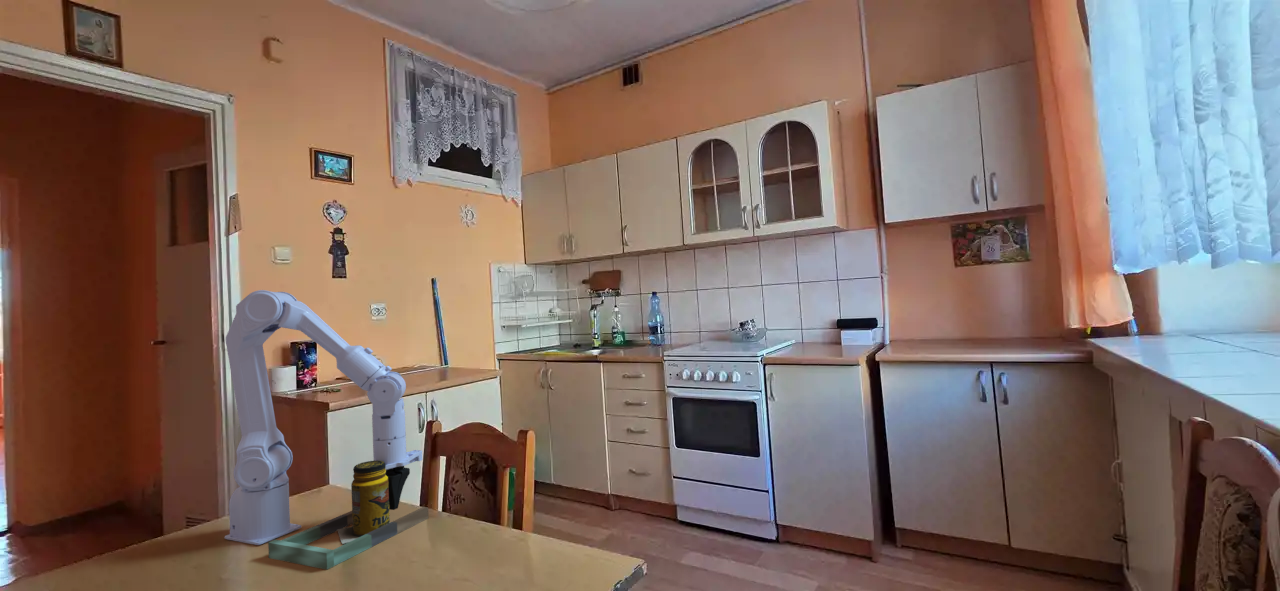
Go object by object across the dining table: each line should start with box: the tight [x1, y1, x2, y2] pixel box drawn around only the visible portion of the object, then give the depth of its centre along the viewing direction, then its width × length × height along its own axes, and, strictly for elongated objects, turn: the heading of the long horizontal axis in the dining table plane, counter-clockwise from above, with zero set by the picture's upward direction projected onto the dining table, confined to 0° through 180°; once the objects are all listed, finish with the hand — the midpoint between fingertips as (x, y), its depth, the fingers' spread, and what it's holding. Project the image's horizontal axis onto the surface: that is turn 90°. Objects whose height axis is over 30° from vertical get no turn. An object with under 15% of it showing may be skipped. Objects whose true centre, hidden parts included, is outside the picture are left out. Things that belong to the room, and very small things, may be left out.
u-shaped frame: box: [267, 506, 430, 571], centre depth 97 cm, size 13×21×2 cm, turn 158°
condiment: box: [336, 460, 391, 545], centre depth 99 cm, size 7×8×12 cm
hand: (392, 508), depth 105 cm, fingers closed
